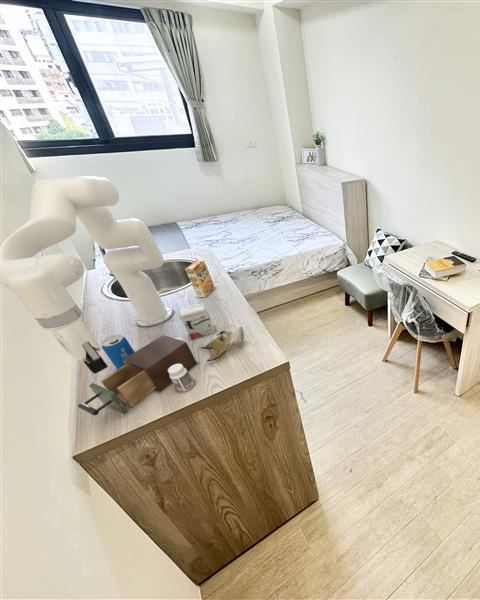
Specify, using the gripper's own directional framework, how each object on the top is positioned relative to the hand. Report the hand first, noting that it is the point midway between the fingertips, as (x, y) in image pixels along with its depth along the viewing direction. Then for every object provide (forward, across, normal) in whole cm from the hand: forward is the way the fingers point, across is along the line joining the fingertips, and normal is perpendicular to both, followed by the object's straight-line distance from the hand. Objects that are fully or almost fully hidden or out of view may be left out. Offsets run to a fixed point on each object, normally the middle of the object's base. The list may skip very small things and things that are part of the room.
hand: (99, 369), depth 87 cm
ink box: (+17, -14, +33) cm, 40 cm away
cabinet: (+16, -4, +14) cm, 22 cm away
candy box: (+17, -41, +54) cm, 69 cm away
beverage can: (+17, -19, +10) cm, 27 cm away
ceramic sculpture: (+17, +4, +31) cm, 36 cm away
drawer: (+16, -3, +1) cm, 16 cm away
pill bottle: (+17, +7, +13) cm, 23 cm away
